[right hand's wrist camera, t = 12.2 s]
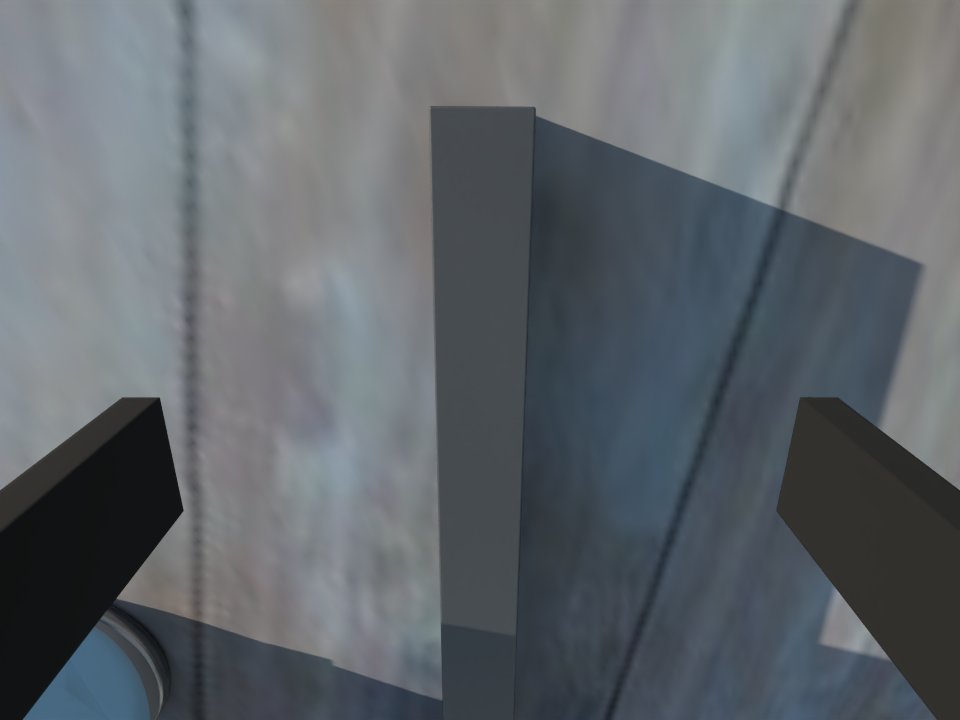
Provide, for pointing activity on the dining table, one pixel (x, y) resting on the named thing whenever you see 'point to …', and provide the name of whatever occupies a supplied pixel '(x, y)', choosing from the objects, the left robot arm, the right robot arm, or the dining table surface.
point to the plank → (480, 392)
